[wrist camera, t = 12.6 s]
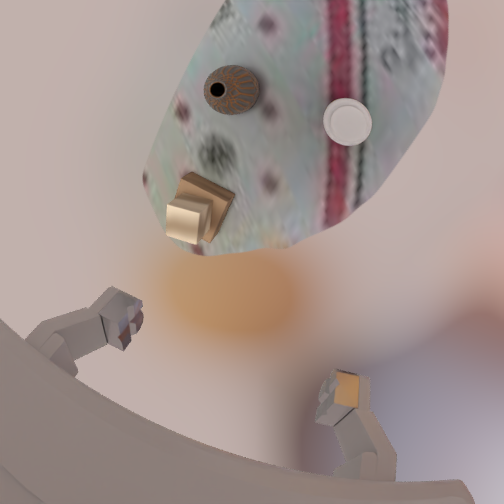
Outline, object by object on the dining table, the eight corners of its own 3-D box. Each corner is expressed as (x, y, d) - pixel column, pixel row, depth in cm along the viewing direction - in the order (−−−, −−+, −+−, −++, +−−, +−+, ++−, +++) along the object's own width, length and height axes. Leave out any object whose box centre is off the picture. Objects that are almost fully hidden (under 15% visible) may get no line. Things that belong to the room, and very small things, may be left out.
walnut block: (192, 171, 45) (181, 178, 42) (235, 193, 45) (227, 202, 42) (178, 210, 50) (167, 220, 46) (218, 232, 50) (209, 243, 46)
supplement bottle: (343, 145, 37) (347, 160, 28) (316, 115, 36) (310, 121, 27) (373, 120, 34) (385, 128, 25) (345, 90, 33) (349, 87, 24)
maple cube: (183, 192, 43) (167, 204, 39) (213, 200, 42) (199, 213, 38) (181, 221, 46) (165, 235, 42) (209, 229, 45) (196, 244, 41)
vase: (208, 89, 37) (179, 90, 30) (242, 58, 34) (219, 50, 27) (238, 122, 39) (215, 129, 32) (274, 92, 36) (258, 91, 28)
